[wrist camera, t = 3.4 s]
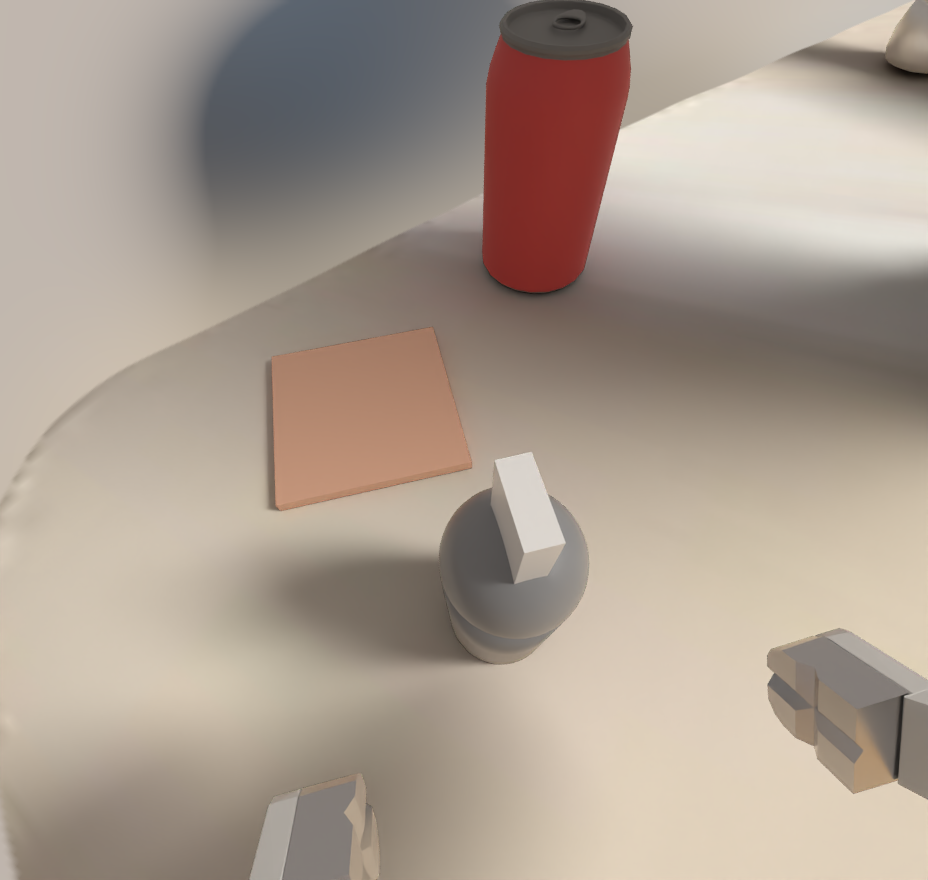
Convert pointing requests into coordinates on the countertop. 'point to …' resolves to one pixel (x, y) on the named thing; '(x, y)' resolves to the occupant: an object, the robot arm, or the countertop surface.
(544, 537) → the grey pump bottle
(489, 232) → the beer can
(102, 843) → the countertop surface
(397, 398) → the tile
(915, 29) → the plastic bottle
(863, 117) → the countertop surface
